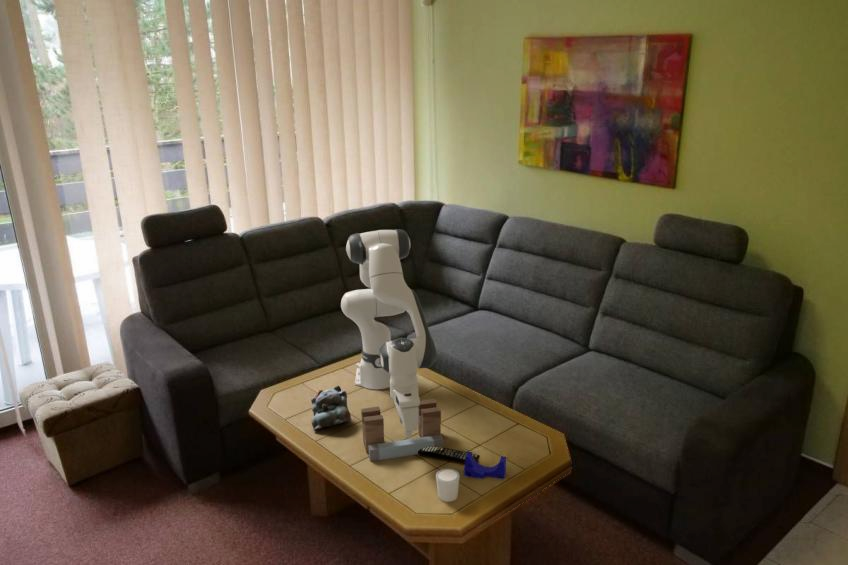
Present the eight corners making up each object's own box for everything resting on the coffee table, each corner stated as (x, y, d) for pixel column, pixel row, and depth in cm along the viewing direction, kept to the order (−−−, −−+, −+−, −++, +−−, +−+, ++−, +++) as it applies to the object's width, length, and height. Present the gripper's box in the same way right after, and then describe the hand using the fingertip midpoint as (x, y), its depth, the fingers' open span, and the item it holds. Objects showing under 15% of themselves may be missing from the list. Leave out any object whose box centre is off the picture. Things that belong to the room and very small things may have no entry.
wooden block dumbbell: (362, 440, 218) (361, 408, 214) (435, 430, 223) (434, 398, 220) (366, 453, 210) (364, 421, 207) (441, 442, 216) (440, 410, 212)
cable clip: (464, 476, 198) (464, 459, 196) (467, 468, 202) (467, 451, 200) (503, 482, 195) (503, 465, 193) (505, 473, 199) (506, 456, 197)
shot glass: (431, 493, 190) (431, 473, 188) (451, 485, 193) (450, 465, 191) (444, 506, 184) (444, 485, 182) (464, 497, 188) (464, 477, 186)
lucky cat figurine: (304, 431, 224) (299, 391, 227) (322, 428, 235) (317, 389, 238) (342, 425, 219) (337, 384, 222) (359, 422, 230) (353, 383, 233)
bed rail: (368, 456, 209) (368, 445, 208) (440, 445, 214) (440, 434, 213) (370, 461, 206) (369, 450, 205) (443, 450, 212) (443, 439, 210)
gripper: (388, 377, 212) (389, 415, 216) (400, 405, 193) (402, 446, 197) (407, 375, 214) (408, 412, 218) (421, 403, 195) (422, 443, 199)
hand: (405, 429), depth 207 cm, fingers open, 8 cm apart
